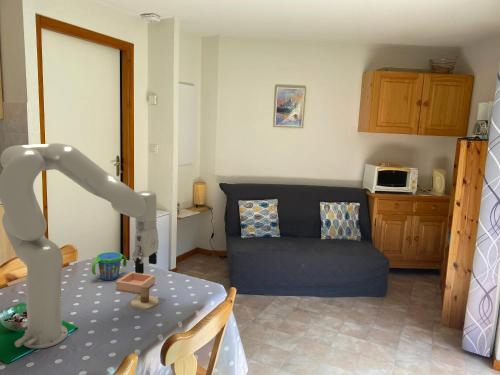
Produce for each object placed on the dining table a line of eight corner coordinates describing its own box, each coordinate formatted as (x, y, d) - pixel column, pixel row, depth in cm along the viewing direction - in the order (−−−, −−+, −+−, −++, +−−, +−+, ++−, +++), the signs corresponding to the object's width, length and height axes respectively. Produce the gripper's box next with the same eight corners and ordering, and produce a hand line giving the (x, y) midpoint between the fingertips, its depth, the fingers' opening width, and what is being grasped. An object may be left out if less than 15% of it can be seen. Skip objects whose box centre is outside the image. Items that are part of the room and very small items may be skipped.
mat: (151, 313, 137) (151, 312, 137) (121, 308, 140) (121, 307, 140) (166, 299, 149) (166, 299, 149) (139, 295, 152) (139, 294, 152)
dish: (141, 295, 152) (141, 285, 151) (116, 290, 155) (116, 281, 154) (154, 284, 163) (155, 275, 162) (131, 280, 166) (131, 271, 165)
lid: (150, 311, 139) (150, 296, 138) (125, 306, 141) (125, 292, 140) (162, 299, 148) (163, 285, 147) (140, 295, 151) (140, 281, 150)
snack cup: (121, 270, 177) (121, 249, 175) (131, 277, 169) (131, 255, 168) (87, 277, 166) (87, 255, 164) (96, 285, 158) (96, 262, 157)
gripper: (142, 231, 131) (143, 278, 134) (166, 220, 147) (165, 261, 150) (123, 229, 133) (124, 275, 135) (148, 218, 149) (148, 259, 152)
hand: (146, 268), depth 143 cm, fingers open, 9 cm apart
